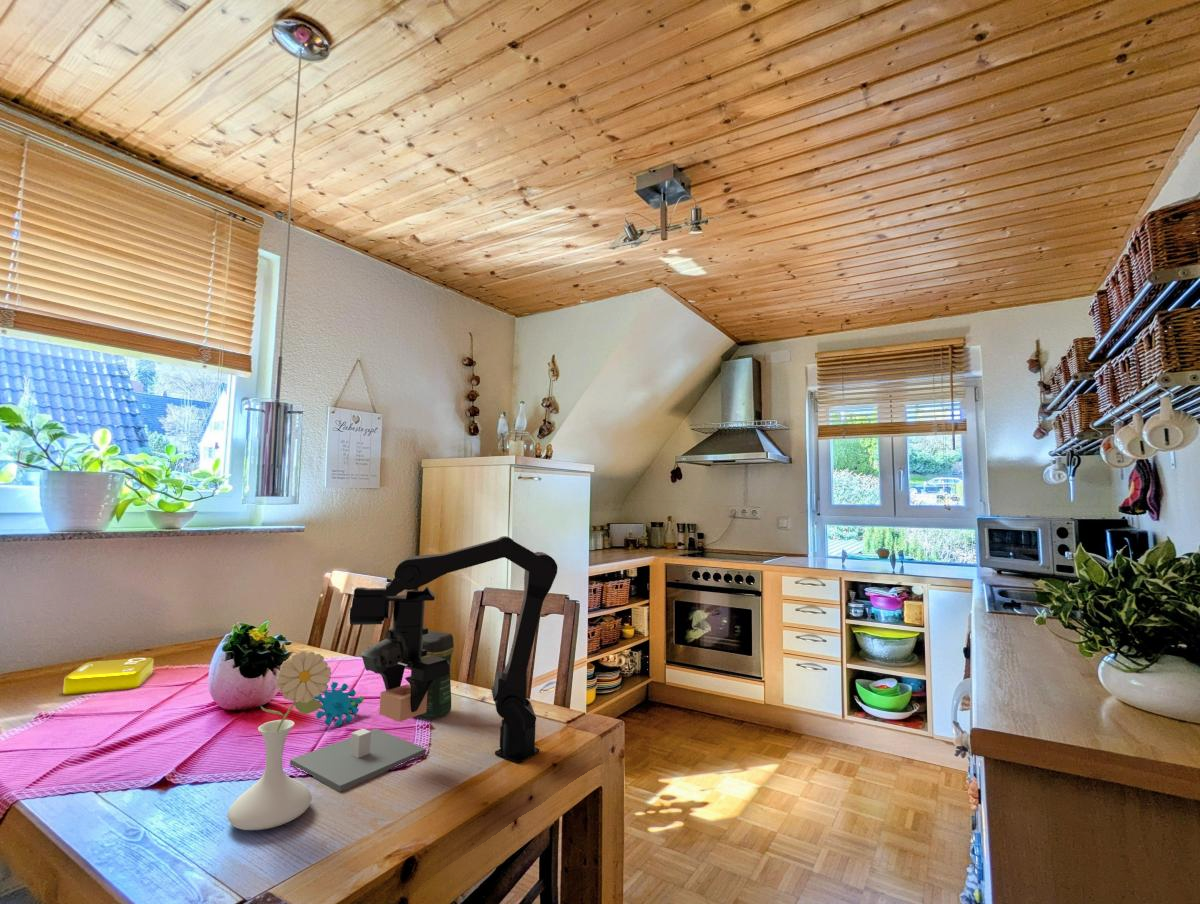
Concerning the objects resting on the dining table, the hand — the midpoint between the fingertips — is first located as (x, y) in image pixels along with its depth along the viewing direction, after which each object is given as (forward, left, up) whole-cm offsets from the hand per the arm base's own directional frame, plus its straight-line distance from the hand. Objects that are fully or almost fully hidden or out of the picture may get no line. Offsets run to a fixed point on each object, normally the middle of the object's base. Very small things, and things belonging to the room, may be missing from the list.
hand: (403, 707), depth 108 cm
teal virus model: (+28, -5, -11) cm, 30 cm away
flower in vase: (0, +23, -10) cm, 25 cm away
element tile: (+95, +17, -11) cm, 97 cm away
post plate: (+7, +4, -10) cm, 13 cm away
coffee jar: (+15, -19, -10) cm, 27 cm away
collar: (0, 0, -1) cm, 1 cm away
